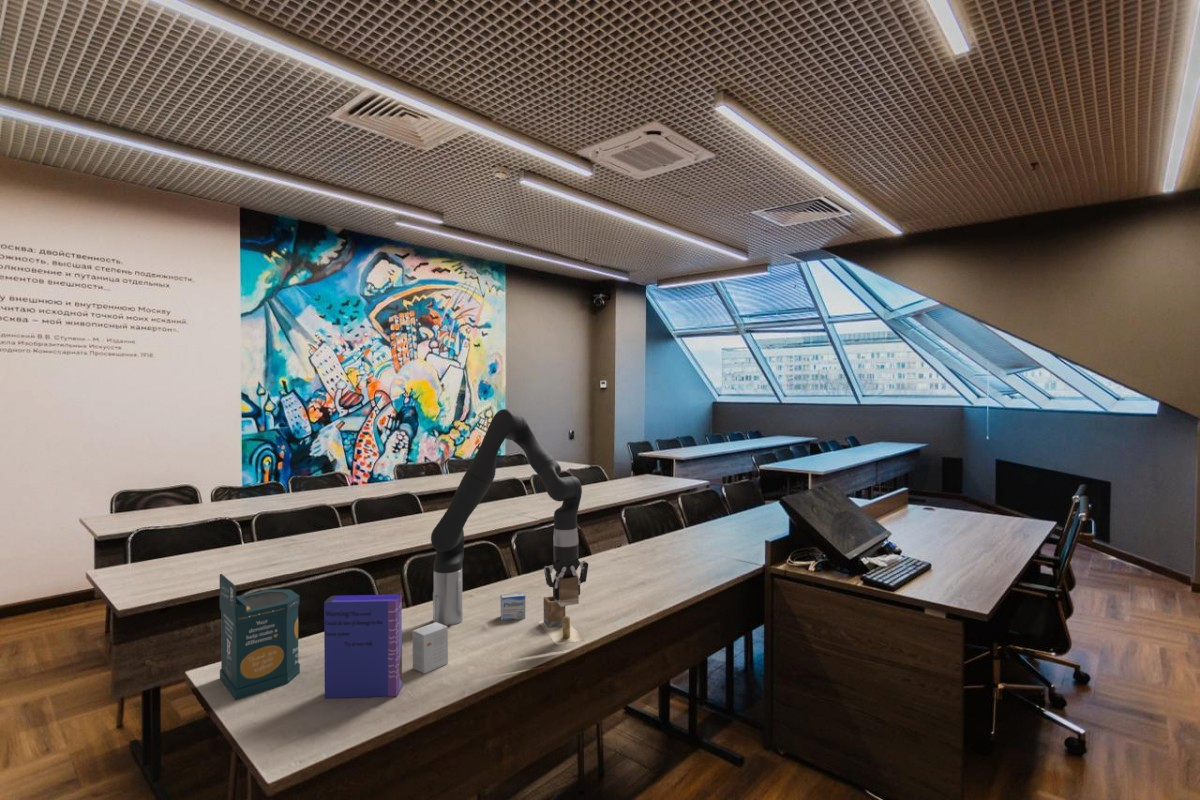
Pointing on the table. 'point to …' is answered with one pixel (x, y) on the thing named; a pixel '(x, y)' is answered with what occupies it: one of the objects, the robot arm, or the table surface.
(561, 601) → the sleeve brown
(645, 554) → the table surface
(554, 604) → the wooden pen holder
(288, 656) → the donation box
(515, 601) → the medicine box
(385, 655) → the cereal box
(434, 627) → the small box
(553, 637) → the pin board
